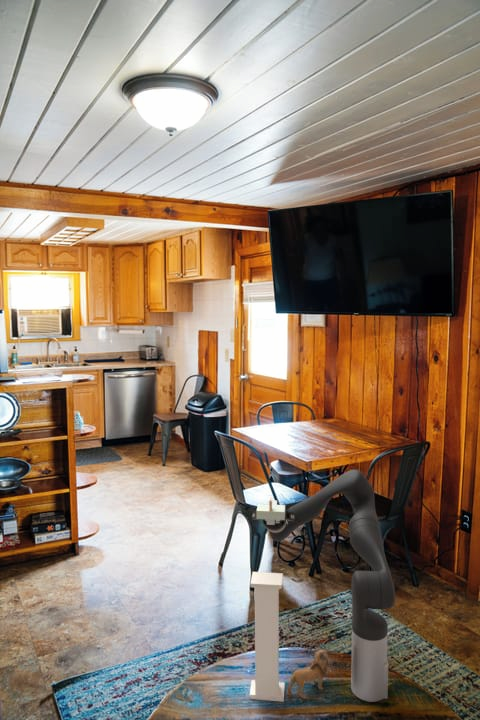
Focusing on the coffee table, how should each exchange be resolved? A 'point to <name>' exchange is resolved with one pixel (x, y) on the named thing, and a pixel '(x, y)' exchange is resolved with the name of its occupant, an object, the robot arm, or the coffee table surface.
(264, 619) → the stand
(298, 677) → the lion figurine
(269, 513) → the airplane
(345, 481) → the robot arm
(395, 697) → the coffee table surface
